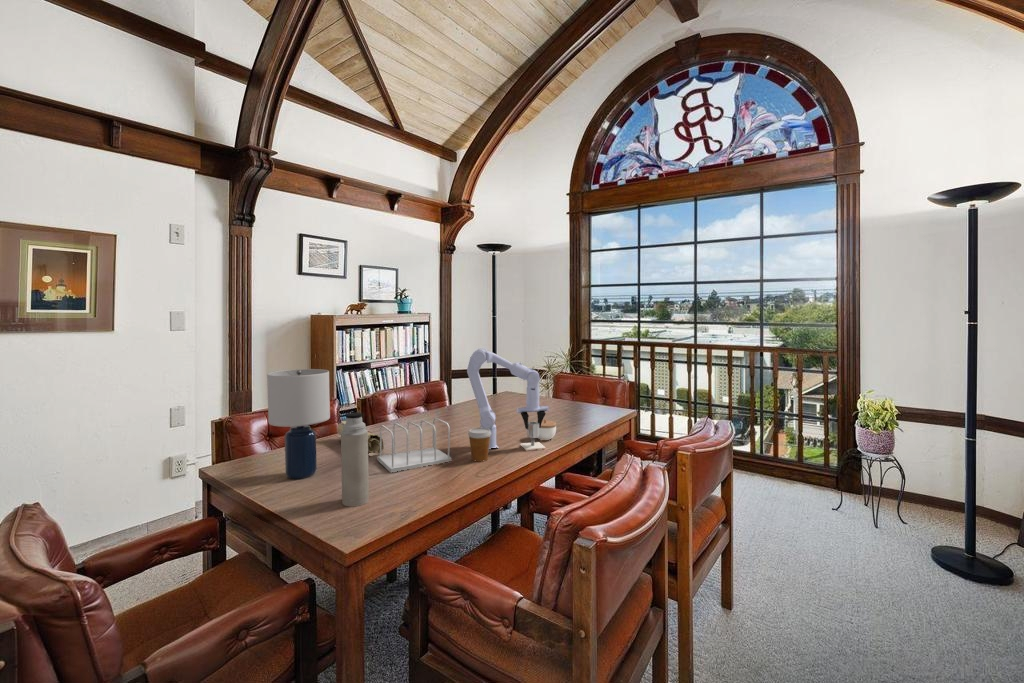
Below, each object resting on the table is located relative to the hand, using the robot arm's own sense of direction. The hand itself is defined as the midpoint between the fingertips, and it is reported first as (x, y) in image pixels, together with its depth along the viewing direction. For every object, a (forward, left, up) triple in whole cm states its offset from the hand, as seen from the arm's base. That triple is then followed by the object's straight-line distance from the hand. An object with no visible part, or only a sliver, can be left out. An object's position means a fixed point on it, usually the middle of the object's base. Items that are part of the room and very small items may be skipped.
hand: (532, 428), depth 200 cm
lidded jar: (+10, +12, -9) cm, 18 cm away
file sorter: (-52, -6, -9) cm, 53 cm away
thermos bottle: (-72, -41, -9) cm, 83 cm away
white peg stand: (0, 0, -9) cm, 9 cm away
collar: (0, 0, -4) cm, 4 cm away
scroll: (-75, +21, -9) cm, 79 cm away
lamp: (-93, -11, -9) cm, 94 cm away
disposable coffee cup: (-26, -10, -9) cm, 29 cm away
